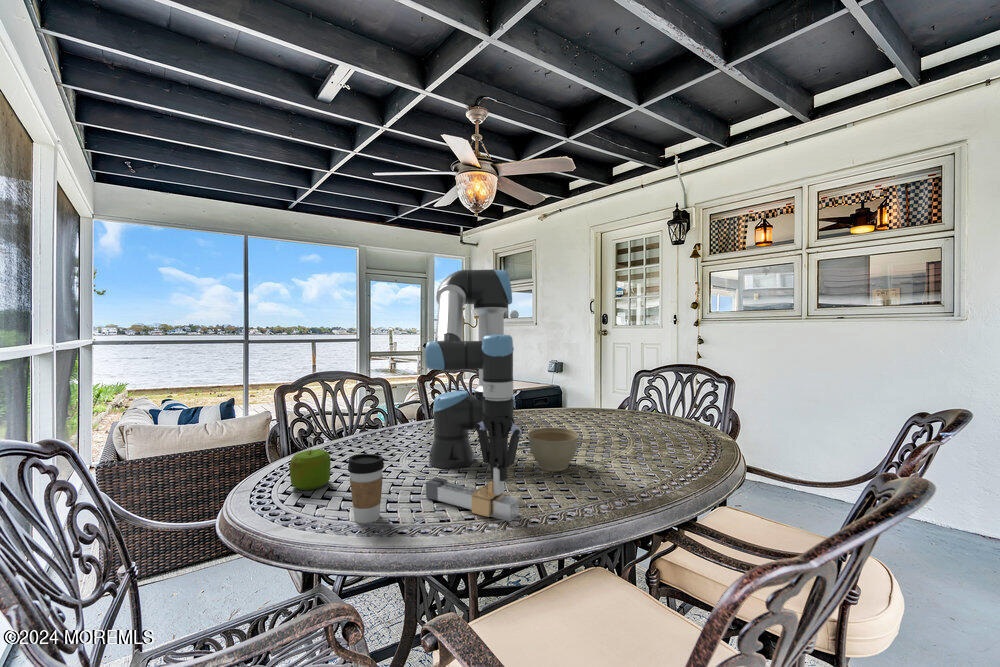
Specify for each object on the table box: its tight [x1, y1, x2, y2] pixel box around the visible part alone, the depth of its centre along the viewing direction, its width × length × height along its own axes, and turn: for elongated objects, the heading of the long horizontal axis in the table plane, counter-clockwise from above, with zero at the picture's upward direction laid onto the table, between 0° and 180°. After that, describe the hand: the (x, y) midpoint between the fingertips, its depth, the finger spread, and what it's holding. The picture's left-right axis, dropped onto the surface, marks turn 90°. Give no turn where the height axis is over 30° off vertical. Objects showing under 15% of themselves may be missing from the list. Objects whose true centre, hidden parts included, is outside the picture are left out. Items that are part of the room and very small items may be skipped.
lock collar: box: [471, 479, 504, 518], centre depth 111 cm, size 5×7×8 cm
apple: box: [288, 448, 332, 491], centre depth 128 cm, size 11×11×11 cm
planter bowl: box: [527, 427, 579, 472], centre depth 143 cm, size 16×16×11 cm
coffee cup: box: [347, 453, 385, 524], centre depth 107 cm, size 8×8×15 cm
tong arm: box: [431, 476, 479, 492], centre depth 117 cm, size 17×2×4 cm, turn 59°
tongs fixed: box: [425, 479, 520, 522], centre depth 114 cm, size 26×4×5 cm, turn 59°
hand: (498, 492), depth 109 cm, fingers closed
